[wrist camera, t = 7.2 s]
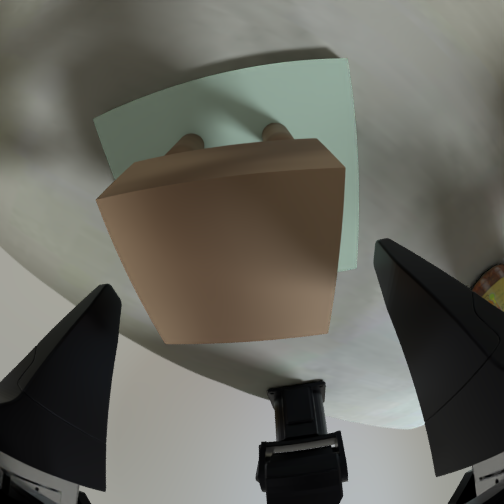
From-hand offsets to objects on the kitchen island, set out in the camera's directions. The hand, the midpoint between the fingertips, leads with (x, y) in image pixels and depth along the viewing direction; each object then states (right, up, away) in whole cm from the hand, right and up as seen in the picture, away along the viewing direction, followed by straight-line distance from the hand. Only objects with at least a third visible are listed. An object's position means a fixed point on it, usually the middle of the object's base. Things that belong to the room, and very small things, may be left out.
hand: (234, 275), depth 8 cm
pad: (0, +4, +5) cm, 7 cm away
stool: (0, +4, +4) cm, 6 cm away
